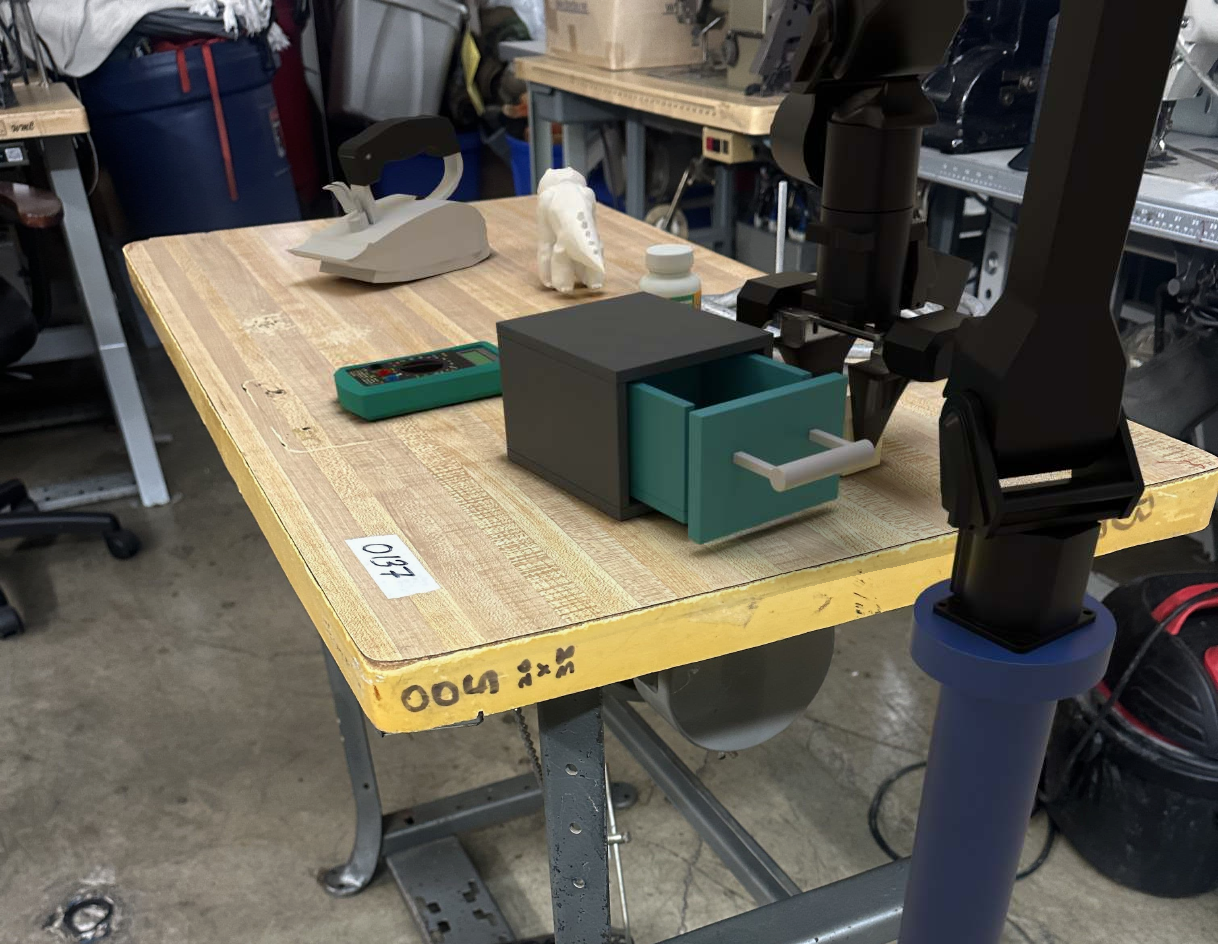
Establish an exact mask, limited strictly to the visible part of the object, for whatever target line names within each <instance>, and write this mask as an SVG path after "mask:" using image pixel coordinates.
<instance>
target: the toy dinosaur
mask: <svg viewBox="0 0 1218 944" xmlns="http://www.w3.org/2000/svg"><path fill="white" fill-rule="evenodd" d="M536 189H537V190H536V192H537V199H536V209H535V216H536V219H537V231H538V232H537V235H538V247H537V252H536V264H537V276H538V278H539V279H540V281H541V283H542V285H543V286H544V287H545V288H548V289H555V290H556V291H557V292H559V293H561V294H569V293H571V292H573V291H574V288H575V278H576V279H577V280H578V281H579V282H580V283H582V284H583V285H586V287H587V288H588V290H590V291H597V290H600V289H602V288H603V287H604V286H605V282H606V279H607V278H606V277H607V276H606V275H607V274H606V270H605V269H606V268H605V266H606V261H605V255H604V252H605V248H604V242H603V241H602V240H601V238H600V236H601V235H600V233H599V231H598V229H597V212H598V211H597V210H598V209H597V200H596V193H595V192H594V190H593V189H592V188H591V187H588V186H587V181H586V178H585V177H584V176H583V174H581V173H580V172H578V170H575V169H573V168H572V167H571V166H568V167H566V168H557V169H553V168H552V167H551V168H547V169H546V170H545V172H544V175H543V176H541V178H540V180H539V182H538V186H537V188H536Z"/></svg>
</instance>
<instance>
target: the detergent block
mask: <svg viewBox="0 0 1218 944" xmlns="http://www.w3.org/2000/svg"><path fill="white" fill-rule="evenodd" d="M883 438H884V432H883V433H882V435H881V437H880V439H879V441H878V443H877V445H876V447H875V456H874V459H873V460H872V462H870V463H868V464H865V465H862V466H859V467H856V468H853V469H850V470H847V471H843V472H840V476H842V477H845V476H847V475H851V474H854V473H857V472H860V471H864V470H867V469H869V468H873V467H875V466H879V465H880V464H881V455H882V448H883V447H882V446H883ZM843 439H844V440H847V441H849V442H852V443H854V435H853V423H852V411H851V400H850V395H847V398H846V409H845V420H844V432H843Z"/></svg>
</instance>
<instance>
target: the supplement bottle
mask: <svg viewBox="0 0 1218 944" xmlns="http://www.w3.org/2000/svg"><path fill="white" fill-rule="evenodd" d="M694 250H695V249H694V247H692V246H690V245H687V244H681V243H666V244H665V243H664V244H657V245H653V246H650V247H647V248H646V249H645V257H644V258H645V259H644V260H645V261H644V262H645V263H644V265H645V268H646V269H647V270H648V273H646V274H644V275H643V277H641V279H640V280H639V283H638V287H637V289H638V291H637V292H642V291H645V292H648V293H651V294H654V295H657V296H660V297H663V298H666V299H669V300H673V301H676V302H679V303H682V304H685V305H688V306H691V307H694V308H698V309H701V310H702V281H701V279H700V277H699V276H698V275H697V274H696V273H694V272H693V271H691V269H692V268H693V267H694V264H695V258H694V257H695V255H694V253H695V252H694Z"/></svg>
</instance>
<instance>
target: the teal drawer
mask: <svg viewBox="0 0 1218 944" xmlns="http://www.w3.org/2000/svg"><path fill="white" fill-rule="evenodd" d="M811 376H812V373H811V372H808V371H805V370H802V369H799V368H796V367H793V366H790V365H788V364H785V362H781V361H779V360H777V359H774V358H773V359H770V358H767V357H764V356H761V355H758V354H756V353H753V352H750V351H748V352H744V353H740V354H736V355H732V356H728V357H724V358H720V359H716V360H712V361H708V362H704V363H700V364H696V365H692V366H688V367H684V368H680V369H676V370H672V371H668V372H664V373H660V374H656V375H652V376H649V377H645V378H641V379H637V380H633V381H629V382H626V391H627V434H628V476H629V495H630V496H632V497H634V498H636V499H638V500H640V501H642V502H643V503H645V504H647V505H649V506H651V507H653V508H655V509H657V510H656V511H658V512H661V513H662V514H664V515H666V516H668V517H670V518H671V519H674V520H675V521H678V522H679V523H681V524H684V525H685V524H687V539H689V540H690V541H692V542H694V543H696V544H697V545H704V544H706V543H709V542H712V541H715V540H718V539H720V538H721V539H722V538H724V537H728V536H730V535H733V534H736V533H739V532H741V531H745V530H747V529H750V528H753V527H754V528H755V527H756V526H759V525H763V524H765V523H768V522H771V521H775V520H777V519H781V518H783V517H786V516H788V515H792V514H795V513H798V512H801V511H804V510H807V509H811V508H813V507H816V506H819V505H823V504H825V503H827V502H831V501H834V500H837V499H838V497H839V486H840V485H839V484H840V476H841V475H840V472H843V471H847V470H850V469H853V468H856V467H859V466H862V465H865V464H868V463H870V462H872V460H873V459H874V456H875V450H874V446H873V444H872V443H871V442H870V441H869V440H861V441H857V442H854V443H852V442H849V441H847V440H844V439H843V432H844V420H845V409H846V398H847V396H848V388H849V377H848V376H847V375H844V374H843V375H842V374H839V373H836V372H835V373H831V374H827V375H824V376H820V377H816V378H813V379H811Z"/></svg>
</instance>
